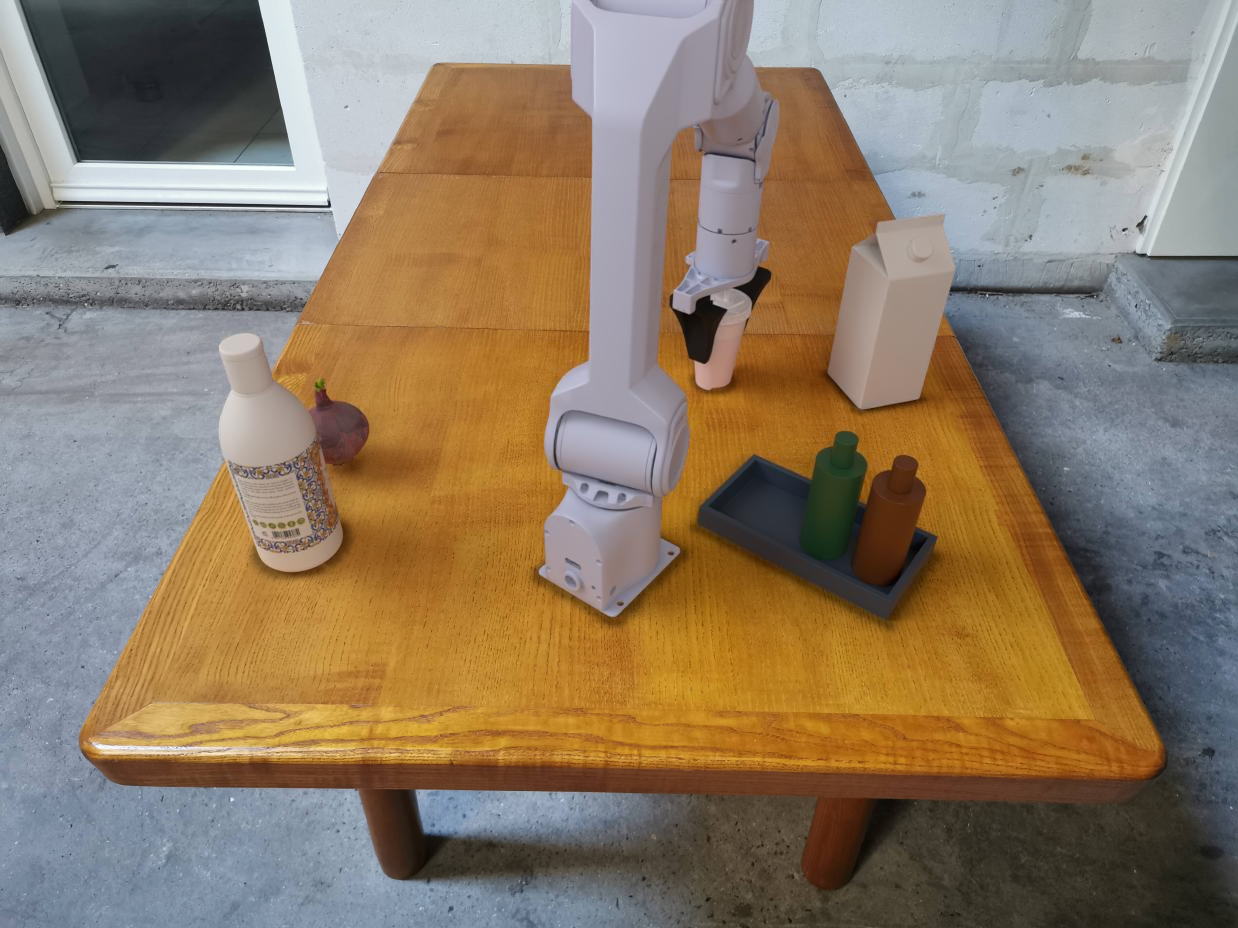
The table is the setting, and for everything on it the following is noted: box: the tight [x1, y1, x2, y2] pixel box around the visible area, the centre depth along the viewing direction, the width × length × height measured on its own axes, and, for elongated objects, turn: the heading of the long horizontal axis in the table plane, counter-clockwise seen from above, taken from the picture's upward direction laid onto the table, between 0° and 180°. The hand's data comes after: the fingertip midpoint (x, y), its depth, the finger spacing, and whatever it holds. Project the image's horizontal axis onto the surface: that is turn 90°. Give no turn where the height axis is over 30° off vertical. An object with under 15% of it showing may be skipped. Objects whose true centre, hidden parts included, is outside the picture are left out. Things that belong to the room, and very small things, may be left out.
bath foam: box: [218, 332, 344, 573], centre depth 68 cm, size 7×7×20 cm
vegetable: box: [308, 377, 370, 468], centre depth 80 cm, size 6×6×10 cm
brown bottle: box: [851, 454, 927, 586], centre depth 69 cm, size 4×4×11 cm
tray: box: [697, 453, 938, 621], centre depth 75 cm, size 9×18×2 cm, turn 53°
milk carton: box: [827, 212, 956, 410], centre depth 88 cm, size 7×7×19 cm
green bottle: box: [800, 430, 869, 560], centre depth 71 cm, size 4×4×11 cm
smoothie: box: [693, 288, 753, 391], centre depth 90 cm, size 6×6×14 cm
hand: (716, 345), depth 91 cm, fingers closed on smoothie, 6 cm apart
